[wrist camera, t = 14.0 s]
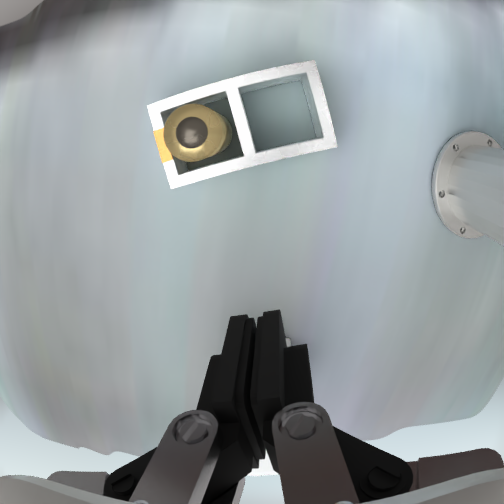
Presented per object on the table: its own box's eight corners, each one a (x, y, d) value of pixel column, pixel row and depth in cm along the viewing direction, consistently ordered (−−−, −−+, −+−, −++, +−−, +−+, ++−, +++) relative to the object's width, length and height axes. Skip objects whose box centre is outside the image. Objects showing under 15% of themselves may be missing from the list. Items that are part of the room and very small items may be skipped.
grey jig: (308, 69, 26) (315, 59, 22) (328, 145, 29) (338, 147, 25) (160, 108, 28) (146, 105, 24) (182, 182, 31) (170, 189, 27)
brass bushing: (225, 106, 28) (212, 95, 20) (237, 148, 29) (228, 152, 22) (182, 119, 29) (156, 114, 21) (194, 160, 30) (172, 169, 22)
